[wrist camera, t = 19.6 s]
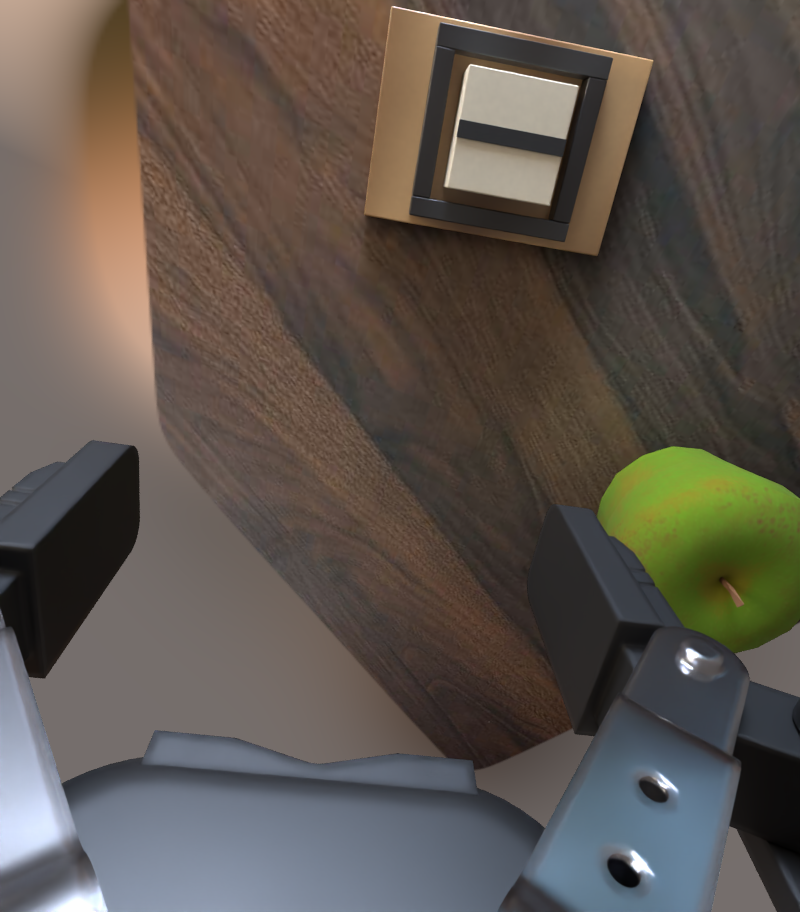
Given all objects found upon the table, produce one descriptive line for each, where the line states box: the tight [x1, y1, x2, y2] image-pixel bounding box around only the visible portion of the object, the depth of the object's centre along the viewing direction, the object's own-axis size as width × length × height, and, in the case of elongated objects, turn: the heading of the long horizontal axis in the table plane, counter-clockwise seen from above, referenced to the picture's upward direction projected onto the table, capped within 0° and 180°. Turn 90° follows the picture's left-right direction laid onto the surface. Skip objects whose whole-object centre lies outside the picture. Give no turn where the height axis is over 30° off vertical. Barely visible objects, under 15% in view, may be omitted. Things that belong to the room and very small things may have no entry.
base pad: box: [364, 6, 653, 256], centre depth 33 cm, size 14×10×2 cm
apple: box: [597, 446, 800, 653], centre depth 39 cm, size 12×12×11 cm
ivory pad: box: [443, 64, 579, 206], centre depth 32 cm, size 6×6×3 cm
